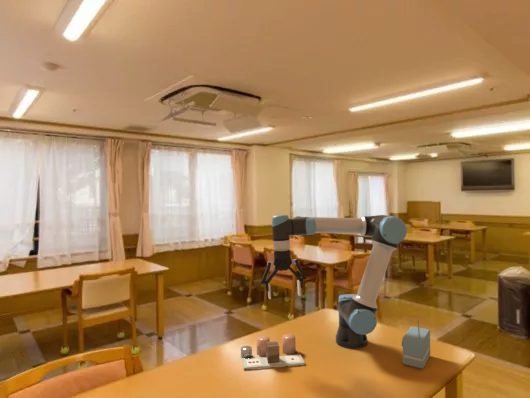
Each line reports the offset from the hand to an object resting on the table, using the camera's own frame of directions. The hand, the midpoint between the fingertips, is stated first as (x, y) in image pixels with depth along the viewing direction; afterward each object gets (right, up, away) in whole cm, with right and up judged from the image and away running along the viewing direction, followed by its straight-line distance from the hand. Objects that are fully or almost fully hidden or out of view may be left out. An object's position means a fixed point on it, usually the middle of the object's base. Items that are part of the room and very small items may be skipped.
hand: (284, 297), depth 155 cm
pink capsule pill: (-9, -27, +4) cm, 29 cm away
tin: (-17, -27, +1) cm, 32 cm away
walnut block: (-5, -26, -5) cm, 27 cm away
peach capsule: (+2, -27, +6) cm, 28 cm away
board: (-5, -27, -5) cm, 28 cm away
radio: (+56, -26, -6) cm, 62 cm away
